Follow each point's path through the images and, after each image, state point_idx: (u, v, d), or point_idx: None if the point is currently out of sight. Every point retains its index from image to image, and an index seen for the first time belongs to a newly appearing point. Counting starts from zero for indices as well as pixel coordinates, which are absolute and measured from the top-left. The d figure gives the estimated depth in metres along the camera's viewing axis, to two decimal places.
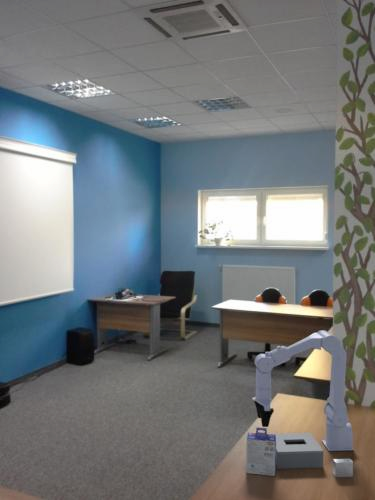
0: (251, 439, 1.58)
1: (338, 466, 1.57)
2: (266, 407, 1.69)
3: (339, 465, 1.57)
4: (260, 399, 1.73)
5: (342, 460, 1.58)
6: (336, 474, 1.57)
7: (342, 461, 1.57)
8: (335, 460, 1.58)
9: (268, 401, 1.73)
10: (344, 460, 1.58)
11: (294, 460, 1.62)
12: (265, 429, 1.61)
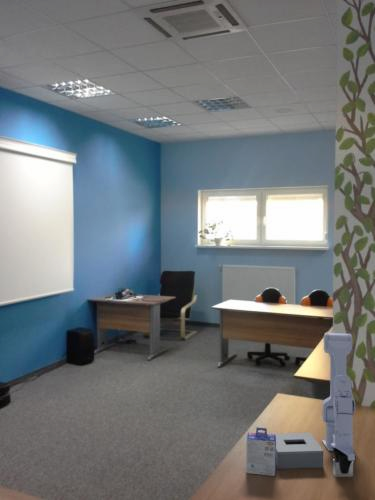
0: (251, 439, 1.58)
1: (338, 466, 1.57)
2: (350, 456, 1.50)
3: (339, 464, 1.57)
4: (341, 446, 1.55)
5: None
6: (336, 474, 1.57)
7: None
8: (335, 460, 1.58)
9: (350, 448, 1.55)
10: None
11: (294, 460, 1.62)
12: (265, 429, 1.61)
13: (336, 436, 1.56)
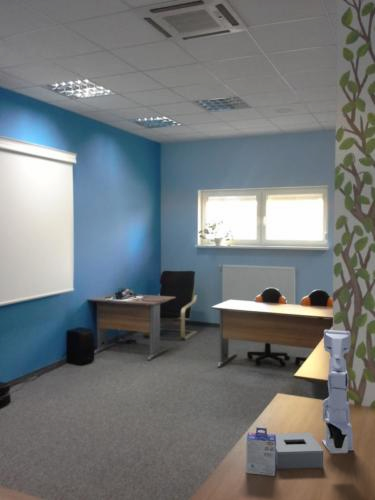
0: (251, 439, 1.58)
1: (333, 442, 1.58)
2: (344, 430, 1.51)
3: None
4: (335, 421, 1.56)
5: None
6: (331, 450, 1.58)
7: None
8: (330, 436, 1.59)
9: (344, 423, 1.56)
10: None
11: (294, 460, 1.62)
12: (265, 429, 1.61)
13: (330, 411, 1.57)
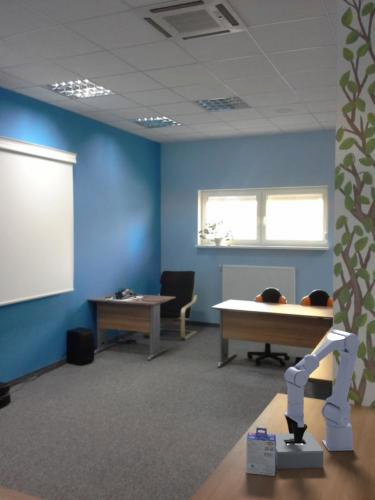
0: (251, 439, 1.58)
1: None
2: (300, 423, 1.61)
3: None
4: (292, 414, 1.66)
5: None
6: None
7: None
8: (287, 444, 1.70)
9: (301, 416, 1.66)
10: None
11: (294, 460, 1.62)
12: (265, 429, 1.61)
13: (288, 405, 1.67)
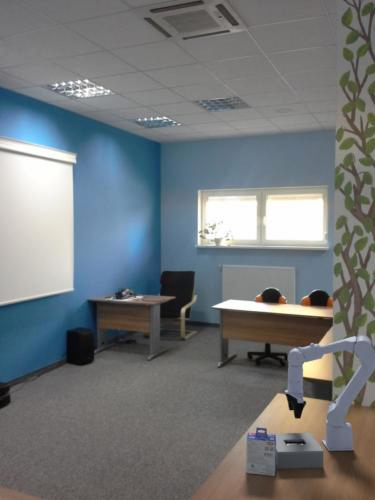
0: (251, 439, 1.58)
1: None
2: (299, 399, 1.75)
3: None
4: (293, 392, 1.80)
5: None
6: None
7: None
8: (287, 444, 1.70)
9: (300, 394, 1.80)
10: None
11: (294, 460, 1.62)
12: (265, 429, 1.61)
13: (289, 384, 1.81)
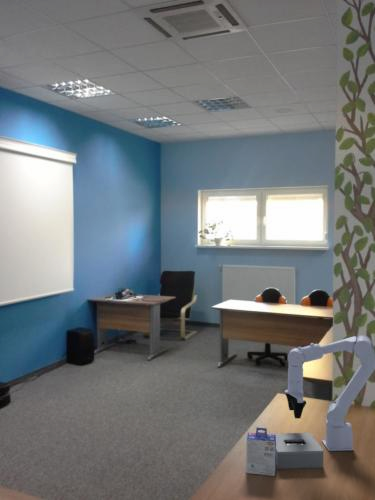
0: (251, 439, 1.58)
1: None
2: (299, 399, 1.75)
3: None
4: (293, 392, 1.80)
5: None
6: None
7: None
8: (287, 444, 1.70)
9: (300, 393, 1.80)
10: None
11: (294, 460, 1.62)
12: (265, 429, 1.61)
13: (289, 383, 1.81)
